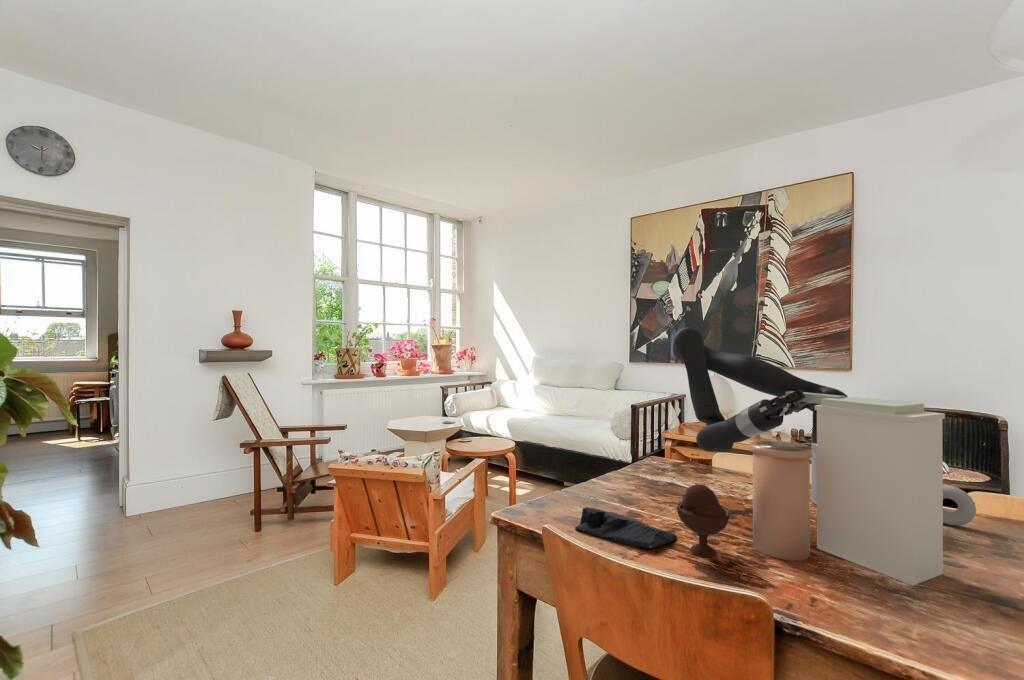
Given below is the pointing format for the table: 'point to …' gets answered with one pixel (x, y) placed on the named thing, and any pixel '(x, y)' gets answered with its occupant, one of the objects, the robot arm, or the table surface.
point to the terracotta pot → (781, 499)
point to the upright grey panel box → (881, 490)
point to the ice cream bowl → (702, 517)
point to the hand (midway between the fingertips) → (812, 392)
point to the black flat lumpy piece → (622, 529)
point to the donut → (964, 503)
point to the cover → (862, 403)
